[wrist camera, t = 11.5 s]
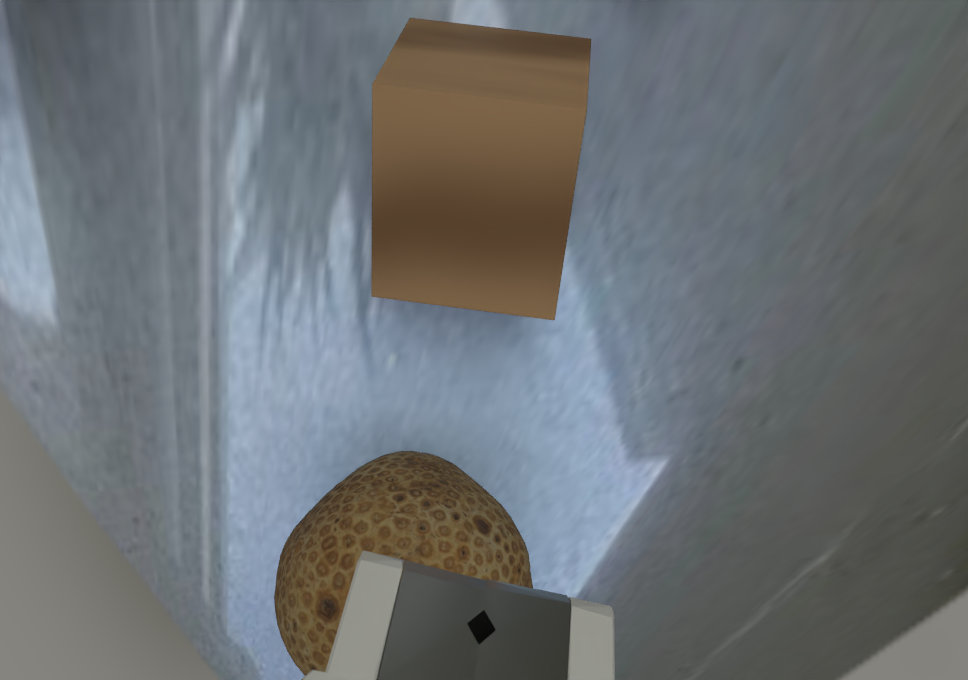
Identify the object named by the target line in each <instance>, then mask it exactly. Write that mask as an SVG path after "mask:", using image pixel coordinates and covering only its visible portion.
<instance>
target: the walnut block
mask: <svg viewBox="0 0 968 680" xmlns="http://www.w3.org/2000/svg"><path fill="white" fill-rule="evenodd" d="M590 50H591V39H588V38H579V37H571V36H562V35H553V34H545V33H536V32H527V31H519V30H510V29H502V28H493V27H484V26H476V25H467V24H458V23H450V22H441V21H432V20H424V19H415V18H410V19H409V21H408V22H407V24H406V26H405V28H404V29H403V31H402V33H401V35H400V36H399V38H398V40H397V42H396V43H395V45H394V47H393V49H392V50H391V52H390V54H389V56H388V57H387V59H386V61H385V63H384V65H383V66H382V68H381V70H380V72H379V73H378V75H377V77H376V79H375V80H374V82H373V84H372V297H379V298H387V299H395V300H403V301H410V302H418V303H426V304H433V305H441V306H449V307H456V308H464V309H472V310H479V311H487V312H495V313H503V314H510V315H518V316H526V317H533V318H541V319H549V320H555V314H556V307H557V301H558V294H559V288H560V281H561V275H562V268H563V262H564V255H565V249H566V242H567V236H568V229H569V222H570V216H571V209H572V203H573V196H574V190H575V183H576V177H577V170H578V164H579V157H580V151H581V144H582V138H583V131H584V125H585V118H586V112H587V99H588V82H589V66H590Z"/></svg>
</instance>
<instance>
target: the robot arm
mask: <svg viewBox="0 0 968 680" xmlns="http://www.w3.org/2000/svg"><path fill="white" fill-rule="evenodd" d="M403 566H404V569H403ZM402 571H403V573H402ZM401 576H402V577H401ZM400 580H401V581H400ZM301 680H615V655H614V613H613V610H612V608H611V606H608V605H603V604H599V603H594V602H590V601H585V600H580V599H576V598H571V597H569V598H568V597H567V595H562V594H557V593H552V592H548V591H543V590H538V589H533V588H528V587H524V586H519V585H514V584H509V583H504V582H499V581H495V580H490V579H486V580H483V579H479V578H475V577H471V576H467V575H463V574H459V573H455V572H451V571H447V570H443V569H439V568H435V567H431V566H427V565H423V564H419V563H415V562H411V561H407V560H406V561H405V565H404V560H402V559H398V558H393V557H389V556H385V555H381V554H376V553H372V552H368V551H363V552H362V554H361V556H360V558H359V560H358V562H357V565H356V569H355V572H354V576H353V579H352V583H351V586H350V589H349V593H348V596H347V600H346V603H345V606H344V610H343V613H342V617H341V620H340V623H339V627H338V630H337V634H336V637H335V640H334V644H333V647H332V651H331V654H330V658H329V661H328V664H327V668H326V671H325V672H322V671H316V670H312V671H310V672H309V673H308V674H307V675H306V676H305V677H303V678H302V679H301Z"/></svg>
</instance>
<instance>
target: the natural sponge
mask: <svg viewBox="0 0 968 680" xmlns="http://www.w3.org/2000/svg"><path fill="white" fill-rule="evenodd" d="M363 551H368V552H372V553H376V554H381V555H385V556H389V557H393V558H398V559H402V560H404V565H405V561H406V560H407V561H411V562H415V563H419V564H423V565H427V566H431V567H435V568H439V569H443V570H447V571H451V572H455V573H459V574H463V575H467V576H471V577H475V578H479V579H483V580H486V579H490V580H495V581H499V582H504V583H509V584H514V585H519V586H524V587H528V588H533V585H532V579H531V573H530V562H529V554H528V551H527V548H526V545H525V542H524V541H523V539H522V537H521V535H520V533H519V531H518V529H517V528H516V526H515V524H514V522H513V520H512V518H511V517H510V515H509V514H508V513H507V512H506V510H505V509H504V508H503V506H502V505H501V504H500V503H499V502H498V501H497V500H496V499H495V498H494V497H493V496H491V495H490V494H489V493H488V492H487V491H486V490H485V489H484V488H482V487H481V486H480V485H479V484H478V483H477V482H475V481H474V480H473V479H472V478H471V477H469V476H468V475H467V474H466V473H465V472H463V471H462V470H461V469H460V468H458V467H457V466H456V465H454V464H452V463H450V462H448V461H446V460H444V459H442V458H440V457H438V456H434V455H431V454H427V453H419V452H414V451H401V452H395V453H390V454H386V455H383V456H381V457H379V458H377V459H375V460H373V461H371V462H368V463H367V464H365V465H363V466H361V467H360V468H358V469H357V470H356V471H354V472H353V473H352V474H350V475H349V476H348V477H346V478H345V479H344V480H343V481H341V482H340V483H339V484H337V485H336V486H335V487H334V488H333V489H332V490H331V491H329V492H328V493H327V494H326V495H325V496H324V497H323V498H322V499H321V500H320V501H319V502H318V503H317V504H316V505H315V506H314V508H313V509H312V510H310V511H309V512H308V513H307V515H306V516H305V517H304V518H303V519H302V520H301V521H300V523H299V524H298V525H297V526H296V527H295V528H294V530H293V531H292V533H291V534H290V536H289V538H288V539H287V541H286V543H285V545H284V548H283V550H282V553H281V555H280V560H279V566H278V570H277V578H276V588H275V596H274V599H275V612H276V618H277V624H278V628H279V631H280V634H281V638H282V640H283V642H284V644H285V647H286V649H287V651H288V653H289V654H290V656H291V658H292V659H293V661H294V663H295V664H296V666H297V667H298V668H299V669H300V670H301V671H302V673H303V674H304V675H305V676H306V675H307V674H308V673H309V672H310V671H312V670H316V671H322V672H325V671H326V668H327V664H328V661H329V658H330V654H331V651H332V647H333V644H334V640H335V637H336V634H337V630H338V627H339V623H340V620H341V617H342V613H343V610H344V606H345V603H346V600H347V596H348V593H349V589H350V586H351V583H352V579H353V576H354V572H355V569H356V565H357V562H358V560H359V558H360V556H361V554H362V552H363ZM403 569H404V566H403ZM402 573H403V571H402ZM401 577H402V576H401ZM400 581H401V580H400Z"/></svg>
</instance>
